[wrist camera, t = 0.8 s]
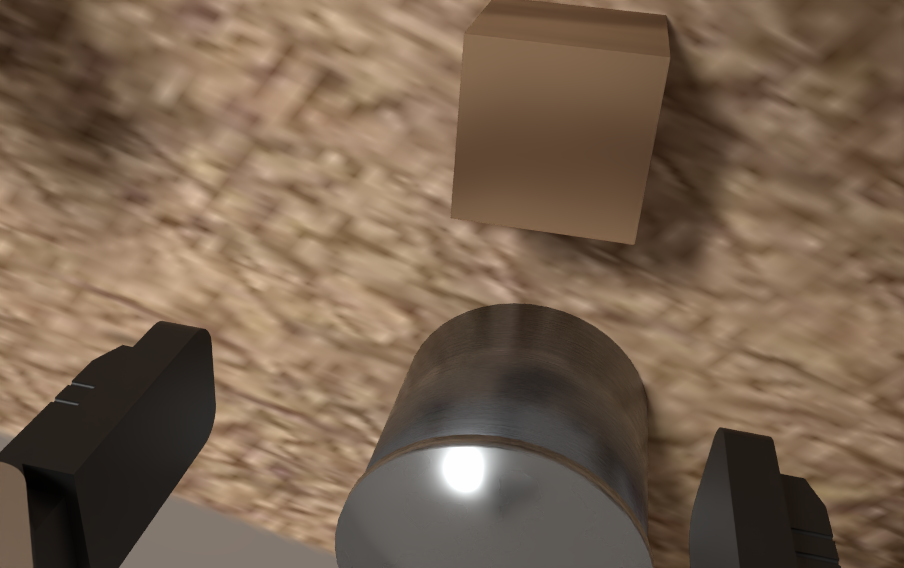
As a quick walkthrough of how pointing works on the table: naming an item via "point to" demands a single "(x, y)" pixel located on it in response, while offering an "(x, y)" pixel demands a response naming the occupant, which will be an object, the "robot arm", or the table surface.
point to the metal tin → (507, 452)
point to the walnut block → (558, 117)
